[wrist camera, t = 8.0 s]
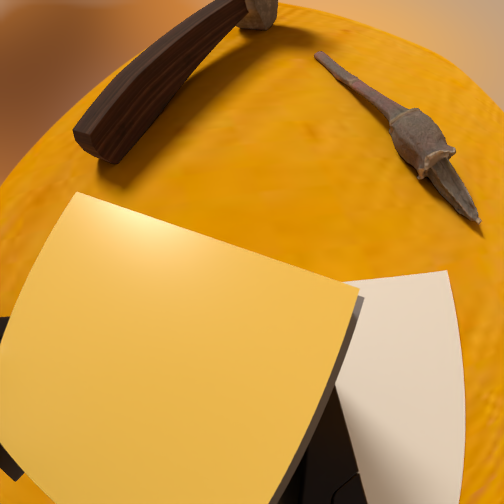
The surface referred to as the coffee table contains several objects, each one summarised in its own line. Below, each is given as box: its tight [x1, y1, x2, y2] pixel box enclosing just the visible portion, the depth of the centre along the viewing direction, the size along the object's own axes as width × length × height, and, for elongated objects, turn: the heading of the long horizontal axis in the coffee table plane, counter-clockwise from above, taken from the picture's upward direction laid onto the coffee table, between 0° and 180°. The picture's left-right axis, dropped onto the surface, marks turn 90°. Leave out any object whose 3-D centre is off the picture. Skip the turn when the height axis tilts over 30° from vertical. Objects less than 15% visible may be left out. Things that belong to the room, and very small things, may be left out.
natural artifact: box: [314, 51, 481, 225], centre depth 20 cm, size 4×23×4 cm
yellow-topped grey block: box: [0, 192, 365, 504], centre depth 8 cm, size 5×5×11 cm
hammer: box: [73, 0, 278, 164], centre depth 24 cm, size 5×11×30 cm
